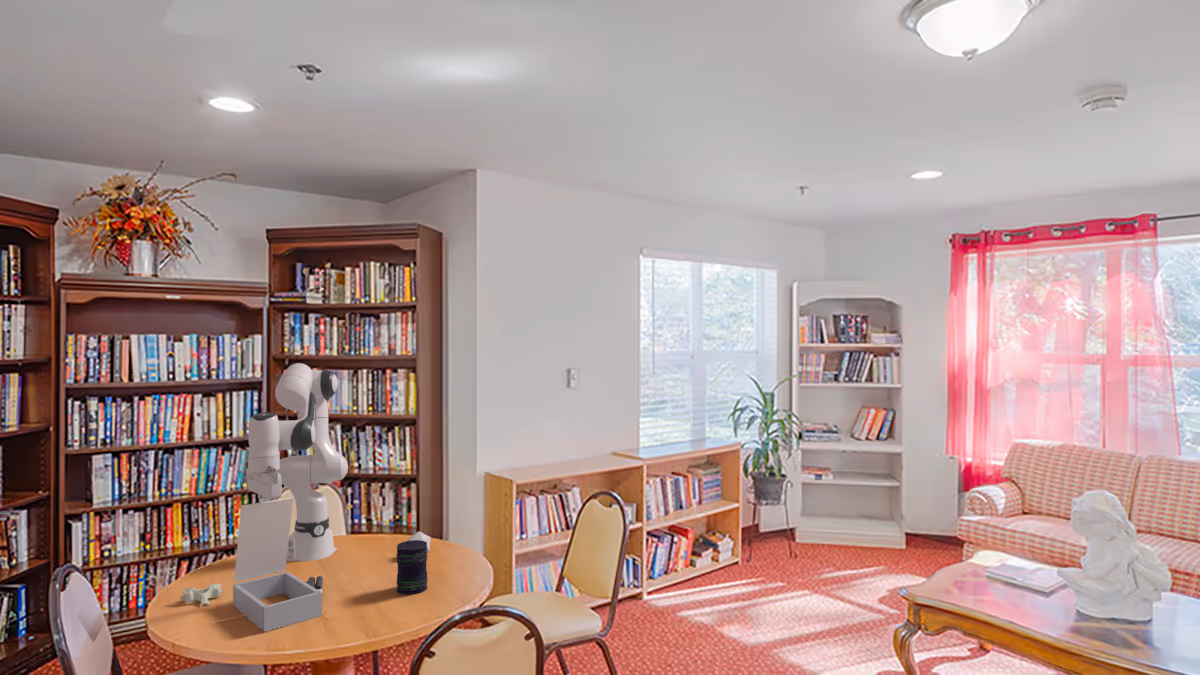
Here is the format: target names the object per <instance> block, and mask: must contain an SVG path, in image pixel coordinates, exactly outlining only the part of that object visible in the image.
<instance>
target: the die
mask: <svg viewBox="0 0 1200 675" xmlns="http://www.w3.org/2000/svg"><path fill="white" fill-rule="evenodd" d="M431 538H432V537H431V536H429V535H427V534H425V533H423V532H421V531H417V532H415V533H413V534H412V535H410V536H408V538H407V541H412V540H420V541H425V542H427V553H429V552H430V549H431Z"/></svg>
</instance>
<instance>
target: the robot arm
mask: <svg viewBox="0 0 1200 675" xmlns="http://www.w3.org/2000/svg"><path fill="white" fill-rule="evenodd" d="M338 384H339V381H338V378H337V374H336V373H335V372H334V371H333V370H328V369H324V370H321V369H320V370H319V369H312V368H311V367H309V366H308V364H305V363H302V362H301V363H299V362H297V363H292V364H291V365H289V366H288V367H287V369H285V371H284V372H283V373H280V375H278V377H277V379H276V382H275V391H274V394H275V396H274V397H275V399H276V401H277V402H278V403H279V405H280V406H282V407H283V408H285V409H288V410H289V411H290V410H291V411H297V419H295V420H279V417H278V414H277V413H275V412H269V411H268V412H267V411H264V412H263V411H262V412H258V413H256V414H253V415H252V416H251V418H250V422H249V428H248V446H249V453H248V459H247V461H245V462H244V468H245V469H246V471H245V472H246V486H247V489H248V491H250V492H253V493H255V494H257V498H258V503H260V502H266V501H271V500H276V499H281V497H282V495H283V486H285V487H286V488H287V489H288V490H289V491H290V493H291V494H292V496H293V499H294V500H295V501H294V502H295V509H296V520H295V524H294V528H293V529H294V531H293V532H292V533H291V534H289V542H288V551H287V561H286V562H312V561H317V560H321V559H322V560H323V559H326V558H327V557H328V558H329V557H330V556H332V554H333V553H334V552H335V551H338V548H337V547H335V546H334V536H333V530H331V529H330V517H329V512H328V511H329V510H328V509H329V503H328V502H329V500H328V498H327V497H326V496H327V495H325V494H323V493H321V492H319V491H317V490H315V489H313V488H312V484H325V483H326V484H327V483H333V482H338V481H342V480H343V479H344V478H345V477H346V475H347V473H348V470H349V464H348V460H347V459H346V457H345V456H344V455H342V454H341V453H340V452H338V451H337V450H336V449H335V447H334V446H333V444H332V442H331V439H330V433H329V405H328V401H329V400H330V399H331V398H332V397H333V396H334V395H335V394H336V393H337V389H338ZM309 448H312V450H314V454H305V455H300V454H299V455H291V456H287V457H284V458H281V457H280V454H281V453H280V451H293V450H294V451H307V450H308V449H309ZM282 485H283V486H282Z"/></svg>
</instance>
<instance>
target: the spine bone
mask: <svg viewBox="0 0 1200 675" xmlns="http://www.w3.org/2000/svg"><path fill="white" fill-rule="evenodd" d="M222 593H224V591H223V590H222V584H221V583H218V582H217V583H214V584H213V583H209V585H208V586H207V587H203V588H199V589H197V588H194V587H189V588H185V589H183V590H182V595H180V597H179V600H181V601H184V602H185V603H186V604H190V603H193V602H195V601H199V602H200V604H199V607H200V606H203V605H204V604H206V605H207V606H210V605H211V603H210V601H209V599H212V598H216V597H217V598H218V597H221V596H222Z"/></svg>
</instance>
